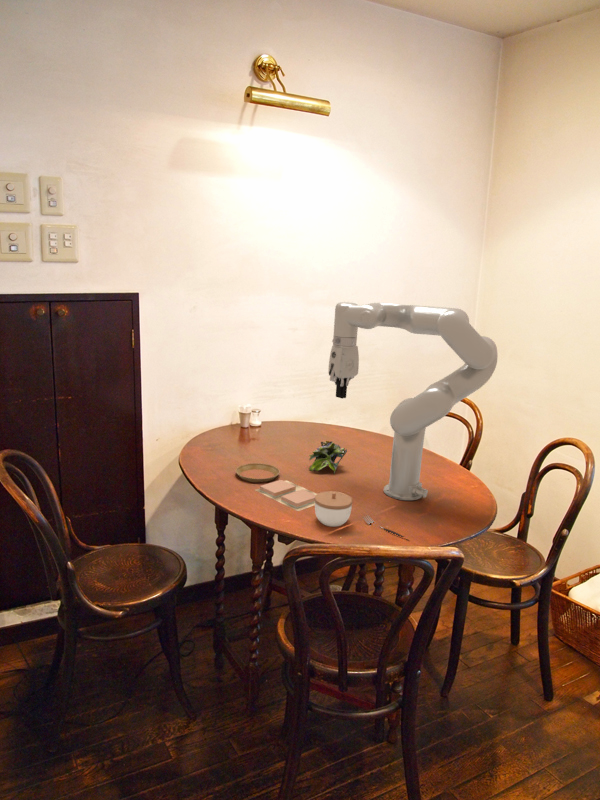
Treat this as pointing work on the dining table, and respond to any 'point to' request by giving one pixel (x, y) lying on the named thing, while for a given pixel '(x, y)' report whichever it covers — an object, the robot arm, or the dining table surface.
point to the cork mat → (288, 493)
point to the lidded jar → (333, 508)
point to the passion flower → (326, 456)
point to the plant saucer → (257, 466)
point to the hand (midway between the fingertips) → (340, 397)
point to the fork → (381, 527)
